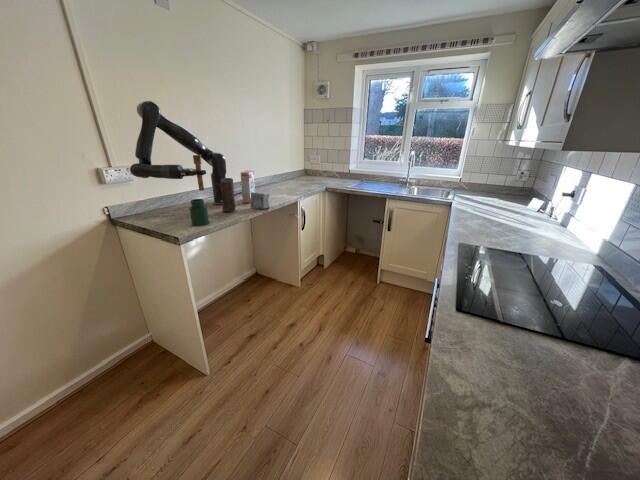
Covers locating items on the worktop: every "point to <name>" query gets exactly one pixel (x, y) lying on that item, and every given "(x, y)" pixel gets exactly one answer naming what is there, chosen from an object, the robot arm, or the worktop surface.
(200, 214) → the bottle
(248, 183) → the cracker box
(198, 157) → the wooden spoon
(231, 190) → the candle
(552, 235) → the worktop surface
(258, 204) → the incense holder
